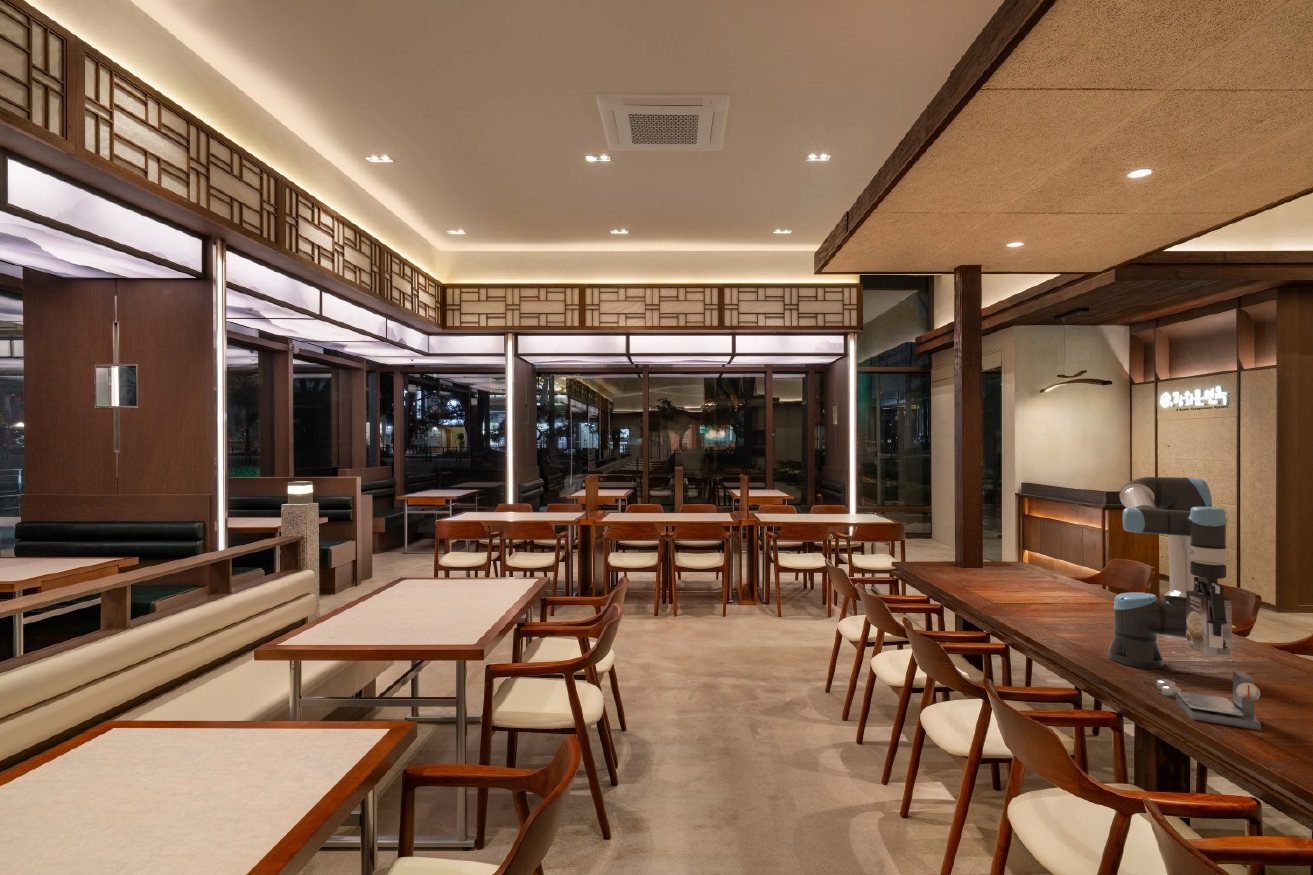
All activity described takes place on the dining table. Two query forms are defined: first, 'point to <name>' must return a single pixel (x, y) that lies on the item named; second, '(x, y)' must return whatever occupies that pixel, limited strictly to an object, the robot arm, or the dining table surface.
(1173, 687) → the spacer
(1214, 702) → the scale
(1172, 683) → the cylinder
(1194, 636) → the coffee box
